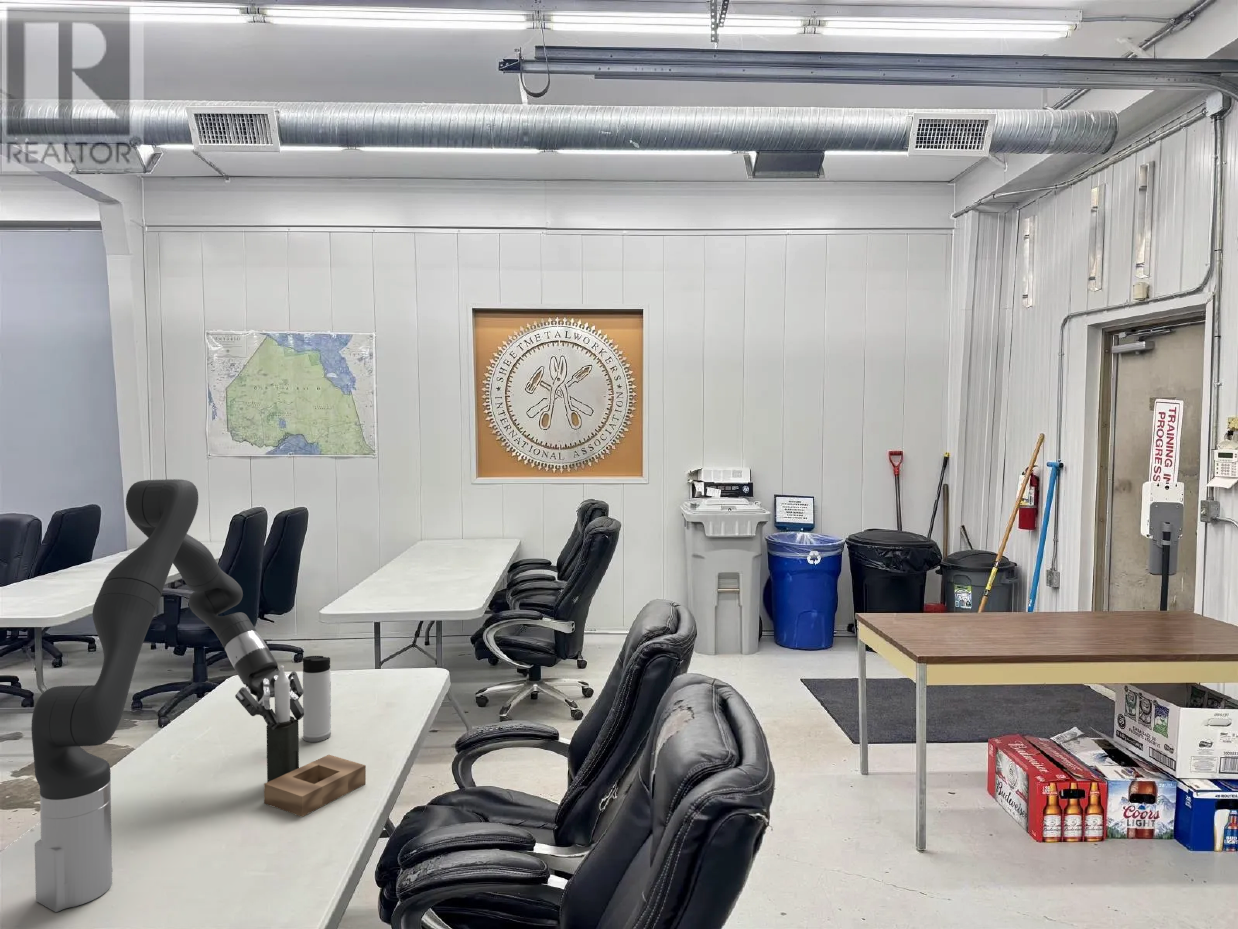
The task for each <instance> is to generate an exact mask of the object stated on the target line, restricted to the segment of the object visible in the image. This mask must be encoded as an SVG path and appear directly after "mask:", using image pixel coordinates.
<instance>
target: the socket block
mask: <svg viewBox="0 0 1238 929" xmlns="http://www.w3.org/2000/svg"><path fill="white" fill-rule="evenodd" d="M366 771H367V770H366V765H365V764H363V763H359V762H356V761H352V760H349V759H345V758H343V757H339V756H334V755H332V754H327V755H324V756H322V757H320V758H318V759H315V760H314V761H311V762H309V763H307V764H305V765H302V766H299V768H298V769H296V770H293V771H291V772H289V773H287V774H285V775H282V776H280V777H278V778H276V779H273V780H271V781H269V782H267V781H266V782H265V783H263V789H264V790H263V793H264V794H263V802H264V803H263V804H264V805H265V804H266V805H267V804H268V805H267V806H270V807H273V808H276V809H279V810H282V811H284V812H287V811H288V812H287V813H290V814H293V815H295V814H296V816H297V817H298V816H299V817H301V818H302V817H303V818H304V817H305V816H306V815H307V816H308V815H309V814H311V813H312V811H313V812H314V811H317V810H318V809H321V808H322V807H324V806H325V804H326V805H328V804H330V803H332V802H333V801H336V800H337V799H339V798H342V797H343V796H346V795H347V794H349V793H351V792H353V791H355V790H357V789H359V788H361V787H363V786H365V785H366V783H367V782H366V779H367V778H366V776H367V775H366ZM316 809H317V810H316Z"/></svg>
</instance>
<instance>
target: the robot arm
mask: <svg viewBox="0 0 1238 929" xmlns="http://www.w3.org/2000/svg"><path fill="white" fill-rule="evenodd" d="M198 506H199V491H198V488H197V486H196V485H195V484H194V483H193V482H192V481H190V480H188V479H181V478H180V479H178V478H175V479H174V478H173V479H171V478H170V479H146V480H140V481H136V482H134V483H133V484H131V485H130V487H129V489H128V490H127V494H126V498H125V509H126V512H127V515H128V516H129V518H130V521H131V522H132V523H133V524H134V525H135V526H136V527H137V528H138V530H140V532H142V533H143V534H144V535H145V536H146V537H147V539H146V540H145V541H144V542H143V543H142V544H141V545H139V546H138V547H137V548H136V549H134V550H133V551H132V552H131V553H128V555H126V557H124V558H123V559H122V560H121V561H119V562H118V563H117V564H116V565H115V566H114V567H113V568H112V569H111V570H110V571H109V572H108V574H107V576H106V577H105V579H104V580H103V583H102V585H101V587H100V589H99V593H98V594H97V597H96V599H95V601H94V604H93V606H92V621H93V624H94V627H95V630H96V633H97V637H98V638H99V642H100V644H101V648H102V652H103V661H102V662H103V663H102V667H101V670H100V674H99V675H98V676H99V677H98V679H97V681H96V683H94V684H92V685H88V684H87V685H58V686H52V687H50V688H48V689H46V690H44V692H43V693H41V695H40V696H39V697H38V698H37V701H36V703H35V705H34V708H33V712H32V717H31V726H30V727H31V730H30V731H31V741H32V742H31V743H32V750H33V752H32V753H33V763H34V765H33V766H34V775H35V779H36V782H37V784H38V786H39V800H40V801H39V803H40V804H39V806H40V807H39V808H40V839H39V840H37V841H35V842H34V870H35V872H34V873H35V874H34V875H35V876H34V878H35V879H34V880H35V902H37V903H39V904H40V905H42V906H45V907H46V908H47V909H50V910H51V911H53V912H54V913H57V912H58V913H59V912H60V911H62V910H65V909H68V908H69V909H70V908H73V907H74V908H75V907H78V906H81V905H83V904H86V903H87V904H88V903H89V902H91V901H93V900H96V899H98V898H99V897H101V896H102V895H105V893H107V891H109V889H110V888H111V887H112V885H113V846H112V845H113V844H112V842H113V841H112V840H113V839H112V835H113V834H112V784H111V782H112V781H111V778H112V777H111V776H112V775H111V766H110V763H109V761H108V760H106V759H104V758H103V757H100V756H96V755H94V754H92V753H90V752H88V751H86V750H85V749H83V747H93V746H94V747H95V746H101V745H103V744H104V745H105V744H106V743H107V742H109V740H110V739H111V738H112V737H113V736H114V734H115V732H116V730H117V729H118V727H119V725H120V722H121V719H122V716H123V714H124V710H125V707H126V703H127V699H128V695H129V692H130V688H131V685H132V679H133V676H134V672H135V668H136V665H137V663H138V662H137V661H138V658H139V655H140V653H141V649H142V647H143V645H144V642H145V638H146V635H147V634H148V631H149V628H150V626H151V623H152V620H153V619H154V616H155V613H156V610H157V608H158V606H159V602H160V600H161V597H162V595H163V594H162V593H163V590H164V587H165V585H166V581H167V579H168V576H169V573H170V571H171V568H172V567H173V566H174V567H175V569H176V570H177V572H178V573H179V575H180V577H181V578H182V580H183V581H184V583H185V584H186V586H187V587H188V588H189V590H192V591H193V592H192V593H191V594H190V595H189V598H188V606H189V609H190V611H191V612H192V613H193V614H194V615H195V616H196V617H197V618H199V619H200V620H201V621H203V623H204V624H206V625H207V626H208V627H209V628H210V629H211V630H212V631H213V632H214V634H215V635H216V637H217V638H218V640H219V641H220V643H221V645H222V648H224V651H225V652H226V655H227V658H228V659H229V661H230V664H231V665H232V667H233V669H234V670H235V672H236V674H237V676H238V677H239V679H240V680H241V683H242V684H243V685H244V686H245V687H240V688H239V690H238V691H237V693H236V694H235V696H234V697H235V699H236V700H237V701H238V702H239V703H240V704H241V706H242V707H243V708H244V709H245V711H247V713H248V714H249V715H250V716H251V717H255V716H258V715H259V716H261V717H262V718H263V720H264V722H265V723H266V726H267V725H268V727H270V728H272V730H274V729H276V728H277V727H278V726H279V725H280V722H279V720H278V718H277V716H276V715H275V710H274V709H273V708H271V702H270V700H271V698H275V686H274V683H275V681H276V679H277V678H278V675H279V672H280V668H279V665H278V662H277V660H276V659H275V657H274V656H273V654H272V652H271V650H270V648H269V647H268V645H267V644H266V642H265V640H264V639H263V638H262V637H261V635H260V634H259V633H258V631H257V630H256V628H255V626H254V625H253V623H252V621H251V619H250V618H249V616H248V615H247V614H246V613H244V612H242V611H241V612H239V611H238V612H233V613H230V614H226V615H221V614H223V613H225V612H227V611H228V610H230V609H232V608H233V607H236V606H238V605H239V604H240V603H241V601H242V599H243V596H244V594H243V592H244V591H243V588H242V587H241V585H240V584H239V583H238V582H237V581H236V579H234V578H233V577H232V576H230V575H229V574H227V573H226V572H225V571H224V570H222V569H221V567H220V566H219V564H218V562H217V560H216V559H215V557H214V555H213V554H212V552H211V551H210V549H209V548H208V547H207V546H206V545H205V544H203V543H202V542H201V541H199V540H198V539H196V538H195V537H193V536H191V534H188V532H189V531H190V530H189V529H190V528H191V525H192V524H193V522H194V519H195V517H196V514H197V510H198ZM172 565H173V566H172ZM285 675H286V677H287V678H288V679H289V681H290V713H291V714H292V715H293V717H294V719H297V720H298V721H300V720H302V719H303V716H304V709H303V705H302V704H301V703H300V701H299V700H300V698H301V697H303V693H304V692H303V685H302V683H301V681H300V678H299V675H298V673H297V671H295V670H293V671H291V672H290V673H288V674H286V673H285ZM254 696H255V697H254Z"/></svg>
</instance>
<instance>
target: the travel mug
mask: <svg viewBox="0 0 1238 929" xmlns="http://www.w3.org/2000/svg"><path fill="white" fill-rule="evenodd" d="M331 683H332V681H331V657H329V656H328V657H326V656H324V655H309V656H308V655H307V656H304V657H302V689H303V692H304V693H303V695H302V707H303V709H304V716H303V717H302V738H303V739H302V740H304V741H305V742H308V743H318V741H319V742H323V741H325V739H326V740H327V738H328V739H329V738H330V737H331V735H332V730H331V729H332V724H331V722H332V720H331V719H332V718H331V717H332V715H331V713H332V712H331V711H332V710H331V709H332V708H331V707H332V705H331V701H332V700H331V698H332V697H331V692H332V691H331ZM322 740H323V741H322Z"/></svg>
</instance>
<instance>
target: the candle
mask: <svg viewBox="0 0 1238 929" xmlns="http://www.w3.org/2000/svg"><path fill="white" fill-rule="evenodd" d="M284 669H285V666H284V665H280V666H279V671H280V672H279V675H278V678H277V679H276V681H275V683H274V686H275V697H274V713H275V715H276V716H277V718H278V720H279V722H280V725H279V726H278V727H277V728H276V729H274V730H272V728H270V727H268V725H267V724H266V775H267V776H266V779H267V780H266V783H267V782H269V781H271V780H273V779H276V778H278V777H280V776H282V775H285V774H287V773H289V772H291V771H293V770H296V769H298V768H300V752H299V751H300V749H299V748H300V747H299V746H300V745H299V744H300V742H299V741H300V740H299V739H300V736H299V732H300V731H299V720H297V719H296V718H295V717H294V716H291V710H290V681H289V679H288V678H287V677H286V675H285V674H286V672H285V670H284Z"/></svg>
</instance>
